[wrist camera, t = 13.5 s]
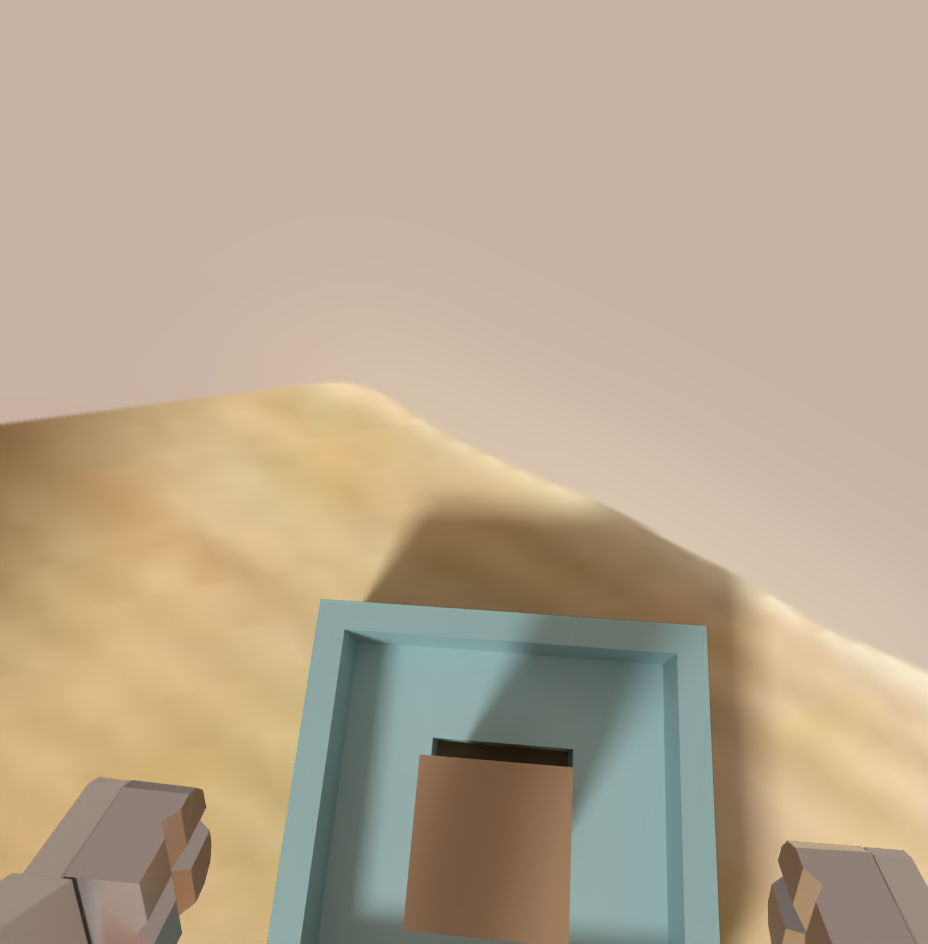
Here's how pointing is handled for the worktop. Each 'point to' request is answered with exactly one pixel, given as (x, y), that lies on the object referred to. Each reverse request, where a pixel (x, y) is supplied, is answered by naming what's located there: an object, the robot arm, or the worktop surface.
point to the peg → (491, 850)
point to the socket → (511, 725)
